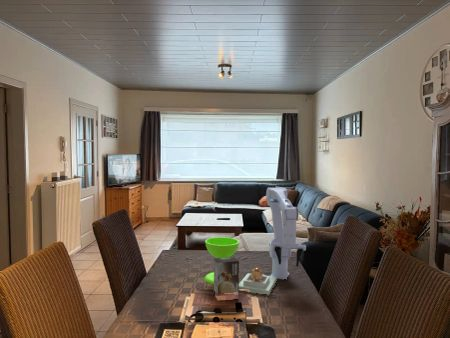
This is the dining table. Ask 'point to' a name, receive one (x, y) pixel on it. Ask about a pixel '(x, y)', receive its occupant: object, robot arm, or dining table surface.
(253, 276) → the spout can
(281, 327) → the dining table surface
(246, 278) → the pale green rectangular tray
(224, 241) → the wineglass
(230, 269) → the coffee box
